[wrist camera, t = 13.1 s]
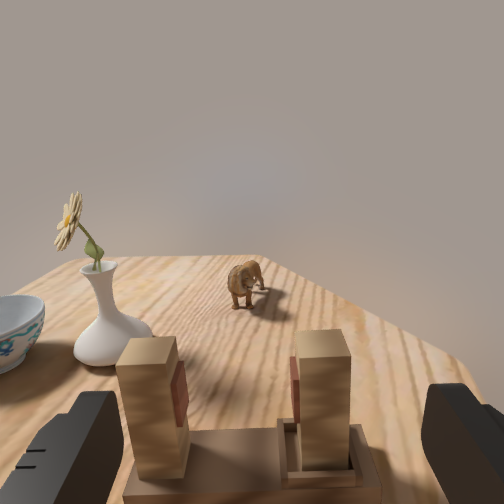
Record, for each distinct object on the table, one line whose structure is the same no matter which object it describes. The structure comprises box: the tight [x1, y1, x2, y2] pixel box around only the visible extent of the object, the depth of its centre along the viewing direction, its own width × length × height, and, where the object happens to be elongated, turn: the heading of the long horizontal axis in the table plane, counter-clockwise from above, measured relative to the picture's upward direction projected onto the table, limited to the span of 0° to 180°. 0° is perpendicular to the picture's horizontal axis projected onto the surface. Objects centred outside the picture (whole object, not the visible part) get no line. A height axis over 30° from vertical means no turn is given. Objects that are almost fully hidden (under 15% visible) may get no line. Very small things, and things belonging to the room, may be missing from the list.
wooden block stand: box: [115, 336, 382, 504], centre depth 34 cm, size 22×7×14 cm, turn 89°
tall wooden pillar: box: [290, 329, 351, 472], centre depth 34 cm, size 4×4×12 cm
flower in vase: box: [54, 191, 153, 366], centre depth 54 cm, size 13×11×25 cm
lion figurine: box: [228, 260, 264, 309], centre depth 71 cm, size 15×5×9 cm, turn 172°
